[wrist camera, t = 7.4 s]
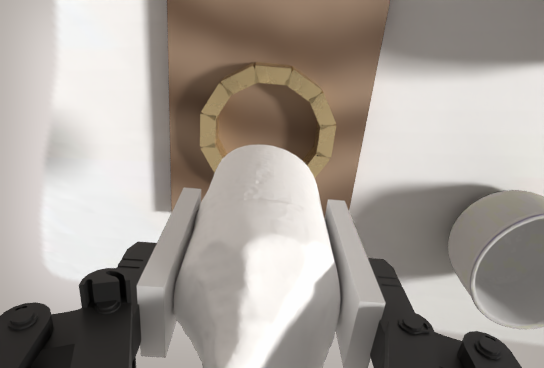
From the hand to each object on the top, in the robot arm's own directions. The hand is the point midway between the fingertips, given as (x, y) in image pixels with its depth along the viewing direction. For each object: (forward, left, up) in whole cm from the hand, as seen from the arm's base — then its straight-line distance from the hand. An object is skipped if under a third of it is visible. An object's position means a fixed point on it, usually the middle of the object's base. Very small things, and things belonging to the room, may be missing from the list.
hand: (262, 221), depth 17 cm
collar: (0, 0, -16) cm, 16 cm away
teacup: (+8, +24, -17) cm, 31 cm away
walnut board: (-1, 0, -17) cm, 17 cm away
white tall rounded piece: (0, 0, -3) cm, 3 cm away
